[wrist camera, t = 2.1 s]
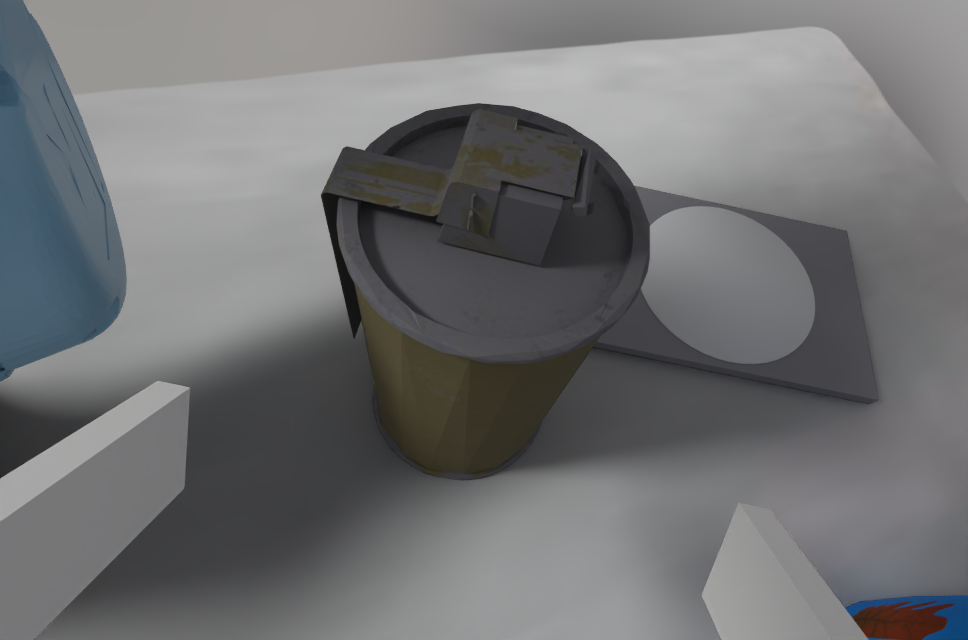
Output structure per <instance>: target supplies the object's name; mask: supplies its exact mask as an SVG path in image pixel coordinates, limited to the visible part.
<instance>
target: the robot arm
mask: <svg viewBox="0 0 968 640" xmlns="http://www.w3.org/2000/svg"><path fill="white" fill-rule="evenodd" d="M125 295H126V265H125V259H124V252H123V247H122V242H121V238H120V234H119V229H118V225H117V222H116V218H115V214H114V211H113V207H112V203H111V200H110V196H109V193H108V190H107V187H106V184H105V181H104V178H103V175H102V172H101V169H100V166H99V163H98V160H97V157H96V154H95V152H94V149H93V146H92V144H91V141H90V138H89V136H88V133H87V130H86V128H85V125H84V123H83V120H82V117H81V115H80V113H79V110H78V108H77V105H76V103H75V101H74V98H73V96H72V93H71V91H70V89H69V86H68V84H67V82H66V80H65V77H64V75H63V73H62V71H61V68H60V66H59V64H58V62H57V60H56V58H55V56H54V54H53V52H52V50H51V47H50V45H49V43H48V41H47V39H46V38H45V35H44V34H43V32H42V30H41V28H40V26H39V25H38V23H37V21H36V20H35V19H34V17H33V16H32V15H31V14H30V13H29V12H28V10H27V8H26V6H25V4H24V2H23V0H0V381H2V380H4V379H6V378H8V377H9V376H10V375H11V374H12V372H13V371H14V369H16V368H19V367H22V366H24V365H27V364H29V363H32V362H35V361H37V360H40V359H42V358H45V357H48V356H50V355H53V354H56V353H58V352H61V351H63V350H66V349H69V348H71V347H74V346H76V345H79V344H82V343H84V342H87V341H89V340H91V339H93V338H94V337H96V336H98V335H99V334H101V333H102V332H104V331H105V330H106V329H107V328H108V327H109V326H110V325H111V324H112V323H113V322H114V320H115V319H116V318H117V316H118V315H119V313H120V311H121V308H122V306H123V303H124V299H125ZM189 401H190V387H186V386H181V385H176V384H171V383H167V382H162V381H156V382H155V383H153V384H152V385H150V386H148V387H147V388H145V389H143V390H142V391H140V392H139V393H137V394H135V395H134V396H132V397H131V398H129V399H127V400H126V401H124V402H123V403H121V404H119V405H118V406H116V407H115V408H113V409H111V410H110V411H108V412H106V413H105V414H103V415H102V416H100V417H98V418H97V419H95V420H94V421H92V422H90V423H89V424H87V425H86V426H84V427H82V428H81V429H79V430H77V431H76V432H74V433H73V434H71V435H69V436H68V437H66V438H65V439H63V440H61V441H60V442H58V443H57V444H55V445H53V446H52V447H50V448H49V449H47V450H45V451H44V452H42V453H40V454H39V455H37V456H36V457H34V458H32V459H31V460H29V461H28V462H26V463H24V464H23V465H21V466H20V467H18V468H16V469H15V470H13V471H11V472H10V473H8V474H7V475H5V476H3V477H2V478H0V640H34V639H35V638H36V637H37V636H38V635H39V634H40V633H41V632H42V631H43V630H44V629H45V628H46V627H47V626H48V625H49V624H50V623H51V622H52V621H53V620H54V619H55V618H56V617H57V616H58V615H59V614H60V613H61V612H62V611H63V610H64V609H65V608H66V607H67V606H68V605H69V604H70V603H71V602H72V601H73V600H74V599H75V598H76V597H77V596H78V595H79V594H80V593H81V592H82V591H83V590H84V589H85V588H86V587H87V586H88V585H89V584H90V583H91V582H92V581H93V580H94V579H95V578H96V577H97V576H98V575H99V574H100V573H101V572H102V571H103V570H104V569H105V568H106V567H107V566H108V565H109V564H110V563H111V562H112V561H113V560H114V559H115V558H116V557H117V556H118V555H119V554H120V553H121V552H122V551H123V550H124V549H125V548H126V547H127V546H128V545H129V544H130V543H131V542H132V541H133V540H134V539H135V538H136V537H137V536H138V535H139V534H140V533H141V532H142V531H143V530H144V528H145V527H146V526H147V525H148V524H149V523H150V522H151V521H152V520H153V519H154V518H155V517H156V516H157V515H158V514H159V513H160V512H161V511H162V510H163V509H164V508H165V507H166V506H167V505H168V504H169V503H170V502H171V501H172V500H173V499H174V498H175V497H176V496H177V495H178V494H179V493H180V492H181V491H182V490H183V489H184V488H185V471H186V453H187V436H188V419H189ZM702 597H703V600H704V602H705V604H706V606H707V609H708V611H709V613H710V615H711V618H712V620H713V622H714V624H715V627H716V629H717V631H718V633H719V636H720V638H721V640H868V638H867V637H866V636H865V634H864V633H863V632H862V630H861V629H860V628H859V626H858V625H857V624H856V622H855V621H854V620H853V618H852V617H851V616H850V614H849V613H848V612H847V610H846V609H845V608H844V606H843V605H842V604H841V602H840V601H839V600H838V598H837V597H836V596H835V594H834V593H833V592H832V591H831V589H830V588H829V587H828V585H827V584H826V583H825V581H824V580H823V579H822V577H821V576H820V575H819V573H818V572H817V571H816V569H815V568H814V567H813V565H812V564H811V563H810V561H809V560H808V559H807V557H806V556H805V555H804V553H803V552H802V551H801V549H800V548H799V547H798V545H797V544H796V543H795V541H794V540H793V539H792V537H791V536H790V535H789V533H788V532H787V531H786V530H785V528H784V527H783V526H782V524H781V523H780V522H779V520H778V519H777V518H776V516H775V515H774V514H773V512H772V511H771V510H770V509H768V508H763V507H758V506H753V505H749V504H744V503H738V505H737V508H736V510H735V513H734V515H733V518H732V520H731V523H730V525H729V528H728V530H727V533H726V535H725V538H724V540H723V543H722V545H721V548H720V550H719V553H718V555H717V558H716V560H715V563H714V565H713V568H712V570H711V573H710V575H709V578H708V580H707V583H706V585H705V588H704V590H703V593H702Z"/></svg>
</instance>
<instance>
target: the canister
mask: <svg viewBox="0 0 968 640" xmlns="http://www.w3.org/2000/svg"><path fill="white" fill-rule="evenodd" d="M321 198H322V203H323V207H324V211H325V216H326V220H327V224H328V229H329V233H330V237H331V242H332V246H333V250H334V255H335V259H336V264H337V268H338V272H339V277H340V281H341V285H342V290H343V294H344V298H345V303H346V307H347V312H348V316H349V320H350V325H351V329H352V333H353V338H355V336H356V333H357V330H358V327H359V325H360V322H361V319H362V324H363V329H364V335H365V340H366V345H367V350H368V355H369V360H370V365H371V370H372V375H373V380H374V386H373V407H374V413H375V417H376V420H377V423H378V426H379V429H380V430H381V432H382V434H383V436H384V437H385V439H386V441H387V443H388V444H389V445H390V447H391V448H392V449H393V450H394V451H395V452H396V454H398V455H399V456H400V457H401V458H403V459H404V460H405V461H406V462H408V463H409V464H410V465H411V466H413V467H415V468H417V469H419V470H420V471H422V472H424V473H426V474H430V475H433V476H437V477H443V478H449V479H457V480H467V479H475V478H482V477H485V476H487V475H490V474H492V473H495V472H497V471H499V470H501V469H503V468H505V467H507V466H509V465H510V464H511V463H513V462H514V461H515V460H516V459H518V458H519V457H520V456H521V455H522V454H523V453H524V452H525V451H526V449H527V448H528V447H529V445H530V444H531V443H532V441H533V440H534V438H535V436H536V434H537V432H538V430H539V427H540V425H541V422H542V420H543V419H544V417H545V416H546V414H547V413H548V411H549V410H550V408H551V407H552V406H553V404H554V403H555V401H556V400H557V398H558V397H559V395H560V394H561V393H562V391H563V390H564V388H565V387H566V385H567V384H568V382H569V381H570V379H571V378H572V377H573V375H574V374H575V372H576V371H577V369H578V368H579V366H580V365H581V364H582V362H583V361H584V359H585V358H586V356H587V355H588V353H589V352H590V351H591V349H592V348H593V346H594V345H595V343H596V342H597V340H598V339H599V338H600V336H601V335H602V334H604V333H605V332H607V331H608V330H610V329H611V328H612V327H613V326H614V325H615V324H616V322H617V321H618V320H619V319H620V318H621V317H622V316H623V315H624V314H625V313H626V312H627V311H628V309H629V308H630V307H631V305H632V304H633V302H634V301H635V299H636V298H637V296H638V294H639V291H640V289H641V287H642V284H643V282H644V279H645V277H646V274H647V272H648V267H649V260H650V224H649V221H648V219H647V216H646V213H645V211H644V208H643V205H642V203H641V200H640V197H639V195H638V193H637V191H636V188H635V187H634V185H633V183H632V182H631V180H630V179H629V178H628V176H627V175H626V174H625V172H624V171H623V170H622V168H621V167H620V166H619V165H618V163H617V162H616V161H615V160H614V159H613V158H612V157H611V156H610V155H609V154H608V153H607V152H605V151H604V150H603V149H602V148H601V147H600V146H599V145H598V144H596V143H595V142H594V141H592V140H590V139H589V138H587V137H586V136H584V135H583V134H581V133H579V132H578V131H576V130H575V129H573V128H571V127H570V126H568V125H567V124H564V123H562V122H559V121H557V120H554V119H552V118H549V117H547V116H544V115H542V114H539V113H536V112H532V111H528V110H525V109H521V108H517V107H513V106H502V105H491V104H480V103H478V104H469V105H460V106H453V107H447V108H441V109H435V110H429V111H425V112H423V113H421V114H419V115H417V116H415V117H413V118H411V119H408V120H406V121H404V122H402V123H400V124H398V125H396V126H394V127H391V128H390V129H389V130H387V131H386V132H385V133H384V134H382V135H381V136H380V137H378V138H377V139H376V140H375V141H373V142H372V143H371V144H370V145H369V146H368V147H367V148H366V150H365V151H364V150H360V149H356V148H351V147H345V148H343V149H342V151H341V153H340V156H339V158H338V160H337V162H336V164H335V166H334V168H333V170H332V173H331V175H330V177H329V179H328V181H327V183H326V185H325V187H324V190H323V192H322V194H321Z"/></svg>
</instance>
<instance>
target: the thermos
mask: <svg viewBox="0 0 968 640" xmlns="http://www.w3.org/2000/svg"><path fill="white" fill-rule="evenodd" d="M845 609H846V610H847V612H848V613H849V614H850V616H851V617H852V618H853V620H854V621H855V622H856V624H857V625H858V626H859V628H860V629H861V630H862V632H863V633H864V634H865V636H866V637H867V638H868V640H968V596H913V597H903V598H892V599H882V600H871V601H860V602H858V603H856V604H853V605H851V606H849V607H846V608H845Z"/></svg>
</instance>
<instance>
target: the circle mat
mask: <svg viewBox="0 0 968 640" xmlns="http://www.w3.org/2000/svg"><path fill="white" fill-rule="evenodd" d="M634 187H635V188H636V191H637V193H638V195H639V197H640V200H641V203H642V205H643V208H644V211H645V213H646V216H647V219H648V221H649V224H650V260H649V267H648V272H647V274H646V277H645V279H644V282H643V284H642V287H641V289H640V291H639V294H638V296H637V298H636V299H635V301H634V302H633V304H632V305H631V307H630V308H629V309H628V311H627V312H626V313H625V314H624V315H623V316H622V317H621V318H620V319H619V320H618V321H617V322H616V324H615V325H614V326H613V327H612V328H611V329H610V330H608V331H607V332H605V333H604V334H602V335H601V336H600V338H599V339H598V340H597V342H596V343H595V345H594V346H593V347H596V348H601V349H606V350H611V351H616V352H620V353H625V354H630V355H635V356H640V357H645V358H649V359H654V360H659V361H664V362H669V363H674V364H678V365H683V366H688V367H693V368H698V369H703V370H707V371H712V372H717V373H722V374H727V375H732V376H736V377H741V378H746V379H751V380H756V381H761V382H765V383H770V384H775V385H780V386H785V387H790V388H795V389H799V390H804V391H809V392H814V393H819V394H824V395H828V396H833V397H838V398H843V399H848V400H853V401H857V402H862V403H867V404H871V403H873V402H875V401H877V400H878V395H877V389H876V384H875V379H874V373H873V368H872V363H871V357H870V352H869V347H868V342H867V336H866V331H865V326H864V320H863V315H862V310H861V304H860V299H859V294H858V288H857V283H856V278H855V272H854V267H853V262H852V257H851V251H850V246H849V241H848V235H847V231H844V230H840V229H835V228H830V227H826V226H821V225H816V224H811V223H807V222H802V221H797V220H793V219H788V218H783V217H779V216H774V215H769V214H764V213H760V212H755V211H750V210H746V209H741V208H736V207H732V206H727V205H722V204H718V203H713V202H708V201H703V200H699V199H694V198H689V197H685V196H680V195H675V194H671V193H666V192H661V191H656V190H652V189H647V188H642V187H638V186H634Z"/></svg>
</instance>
